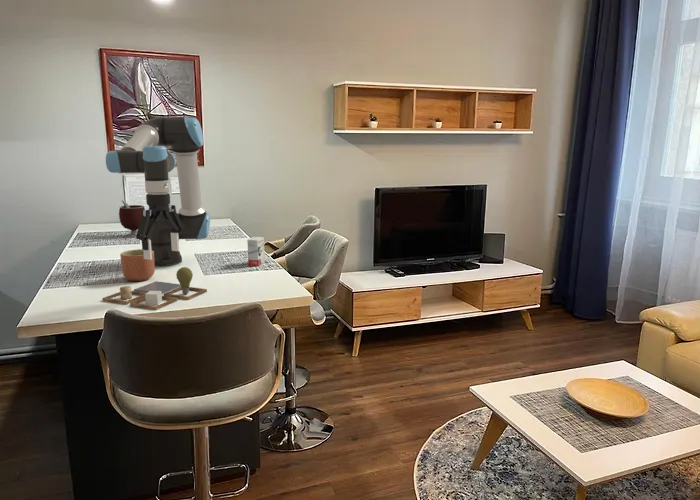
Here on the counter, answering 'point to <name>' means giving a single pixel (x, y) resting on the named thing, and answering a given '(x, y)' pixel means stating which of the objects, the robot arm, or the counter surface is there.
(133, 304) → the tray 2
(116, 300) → the wooden square frame
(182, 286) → the light bulb
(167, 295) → the brown square outline
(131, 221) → the mate gourd
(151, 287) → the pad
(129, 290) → the cork stub
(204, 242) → the counter surface
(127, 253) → the planter
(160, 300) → the grey cube
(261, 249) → the ink box
